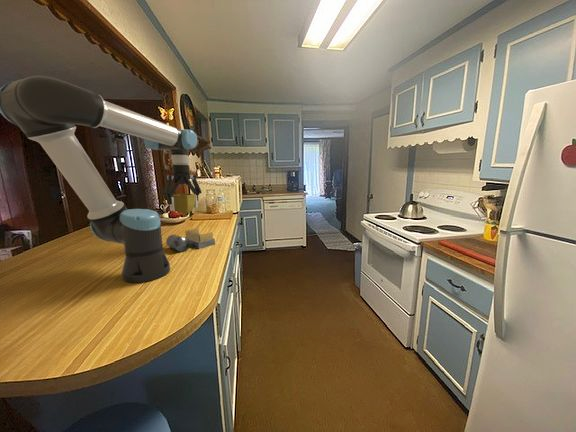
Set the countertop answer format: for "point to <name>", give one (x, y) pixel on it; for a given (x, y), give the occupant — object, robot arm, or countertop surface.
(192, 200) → the flower pot
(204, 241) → the motor block
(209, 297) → the countertop surface
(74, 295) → the countertop surface
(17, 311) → the countertop surface
